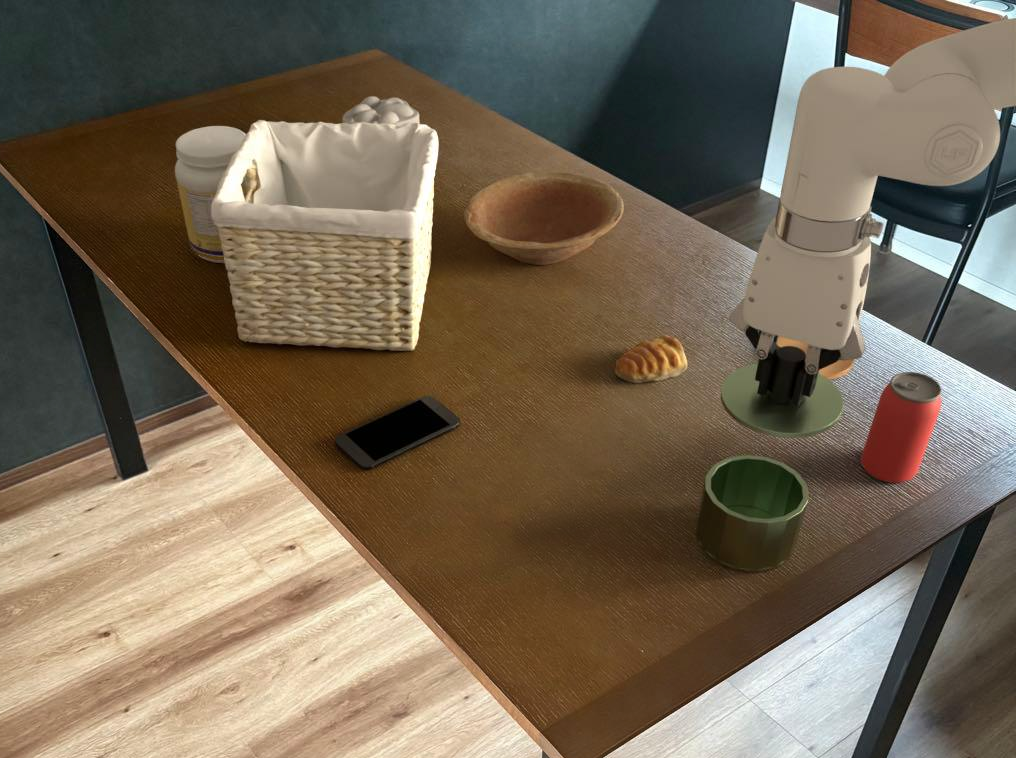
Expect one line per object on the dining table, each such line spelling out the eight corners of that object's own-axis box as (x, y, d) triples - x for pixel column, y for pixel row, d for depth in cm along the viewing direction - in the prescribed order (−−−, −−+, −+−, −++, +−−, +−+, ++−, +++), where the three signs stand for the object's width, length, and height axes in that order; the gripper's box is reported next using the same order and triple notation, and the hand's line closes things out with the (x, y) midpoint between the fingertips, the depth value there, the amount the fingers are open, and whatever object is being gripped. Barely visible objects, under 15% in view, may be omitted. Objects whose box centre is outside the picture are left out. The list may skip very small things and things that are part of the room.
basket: (445, 258, 165) (441, 117, 150) (428, 359, 146) (422, 209, 130) (270, 253, 166) (249, 113, 151) (231, 352, 147) (202, 203, 132)
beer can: (862, 445, 132) (887, 364, 124) (918, 456, 130) (948, 375, 122) (857, 478, 128) (883, 396, 119) (915, 491, 126) (945, 408, 118)
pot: (807, 527, 122) (822, 476, 116) (773, 586, 115) (787, 535, 110) (718, 493, 126) (728, 443, 121) (680, 549, 119) (689, 498, 114)
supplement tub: (212, 222, 173) (192, 118, 161) (282, 232, 171) (267, 127, 159) (176, 260, 165) (153, 153, 153) (250, 271, 162) (232, 163, 151)
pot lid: (856, 393, 109) (871, 341, 105) (817, 457, 102) (831, 404, 97) (745, 359, 114) (755, 308, 109) (701, 418, 106) (709, 366, 102)
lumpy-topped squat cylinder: (426, 157, 190) (424, 108, 184) (358, 173, 186) (354, 123, 180) (402, 135, 197) (399, 87, 191) (335, 149, 192) (330, 101, 186)
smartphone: (464, 425, 135) (464, 419, 134) (364, 473, 128) (364, 468, 128) (429, 397, 139) (429, 392, 139) (331, 443, 133) (330, 437, 132)
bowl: (496, 203, 177) (497, 157, 172) (636, 229, 171) (641, 181, 166) (441, 273, 162) (439, 224, 156) (593, 303, 155) (597, 253, 150)
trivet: (863, 348, 147) (865, 343, 146) (837, 389, 140) (839, 384, 140) (786, 325, 151) (787, 320, 151) (757, 364, 144) (758, 359, 144)
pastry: (632, 394, 140) (635, 369, 137) (603, 368, 144) (605, 343, 141) (690, 373, 143) (694, 348, 140) (660, 348, 147) (663, 324, 145)
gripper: (926, 225, 93) (875, 398, 106) (747, 183, 99) (719, 351, 112) (901, 264, 88) (851, 440, 101) (715, 217, 95) (690, 388, 108)
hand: (782, 391), depth 106 cm, fingers closed on pot lid, 2 cm apart
